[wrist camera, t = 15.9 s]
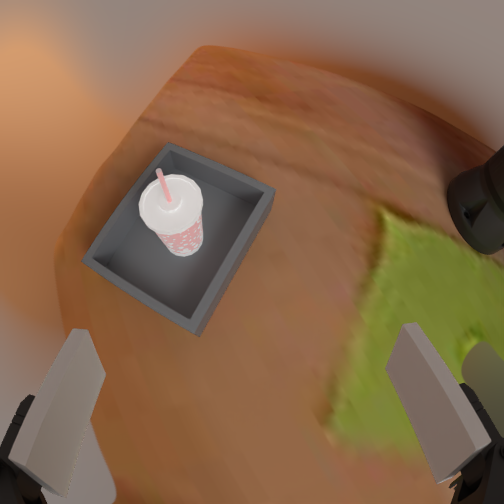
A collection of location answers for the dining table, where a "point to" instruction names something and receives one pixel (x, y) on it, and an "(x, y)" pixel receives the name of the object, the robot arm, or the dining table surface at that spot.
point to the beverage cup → (174, 212)
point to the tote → (178, 267)
